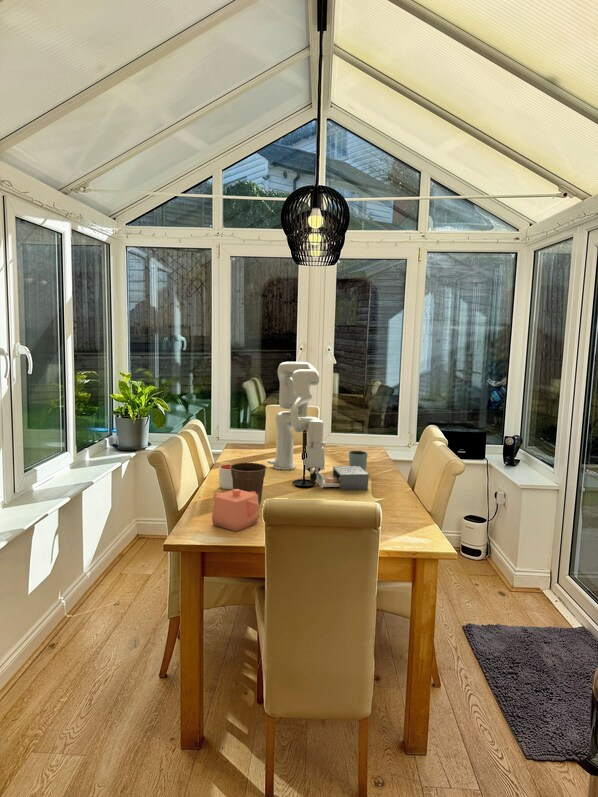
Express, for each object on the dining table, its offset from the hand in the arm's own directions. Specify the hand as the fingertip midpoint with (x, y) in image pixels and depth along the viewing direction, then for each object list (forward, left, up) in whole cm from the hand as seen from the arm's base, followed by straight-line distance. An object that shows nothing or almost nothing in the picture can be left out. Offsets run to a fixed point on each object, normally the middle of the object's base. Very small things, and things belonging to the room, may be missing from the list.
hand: (313, 480), depth 270 cm
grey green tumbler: (+29, +22, -3) cm, 36 cm away
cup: (-41, 0, -3) cm, 41 cm away
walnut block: (+4, +13, -3) cm, 14 cm away
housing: (+19, 0, -3) cm, 19 cm away
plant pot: (-34, -23, -3) cm, 41 cm away
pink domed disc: (+9, 0, -1) cm, 9 cm away
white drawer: (+9, 0, -1) cm, 9 cm away
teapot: (-39, -48, -3) cm, 62 cm away
